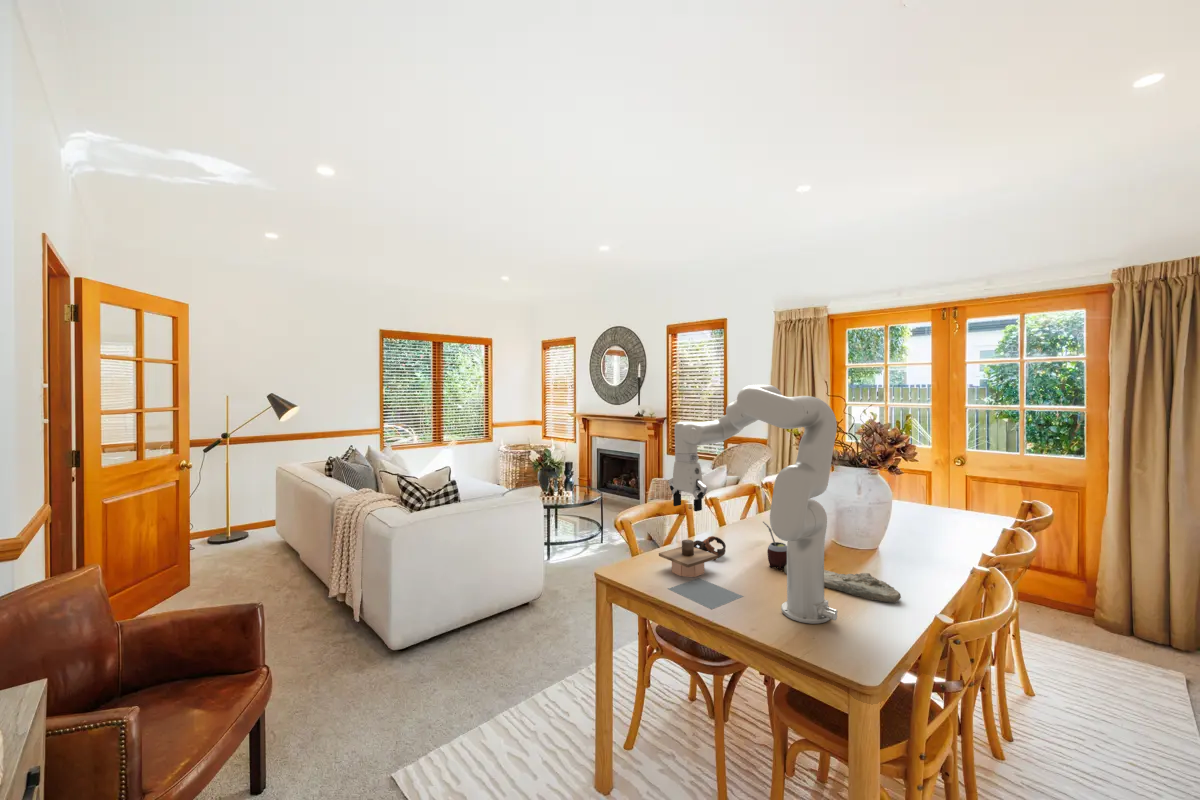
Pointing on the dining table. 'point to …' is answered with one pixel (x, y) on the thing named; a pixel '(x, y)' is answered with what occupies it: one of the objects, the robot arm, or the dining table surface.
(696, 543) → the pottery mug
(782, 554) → the mate gourd
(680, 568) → the bowl
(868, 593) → the long grey stone
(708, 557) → the lid
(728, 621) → the dining table surface
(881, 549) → the dining table surface
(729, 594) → the mat
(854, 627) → the dining table surface
